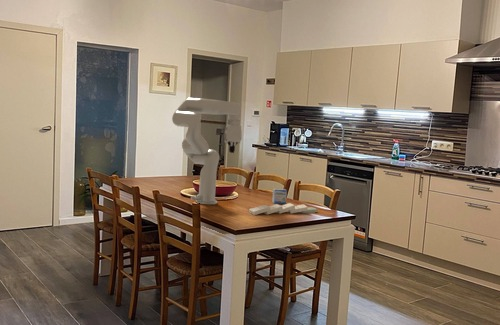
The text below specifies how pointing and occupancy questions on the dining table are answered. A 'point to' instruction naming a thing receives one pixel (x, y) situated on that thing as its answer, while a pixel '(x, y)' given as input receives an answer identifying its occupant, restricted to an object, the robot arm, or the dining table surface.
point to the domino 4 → (299, 209)
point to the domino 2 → (274, 209)
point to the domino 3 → (286, 208)
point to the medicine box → (279, 196)
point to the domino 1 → (259, 209)
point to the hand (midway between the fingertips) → (231, 152)
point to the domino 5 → (310, 210)
